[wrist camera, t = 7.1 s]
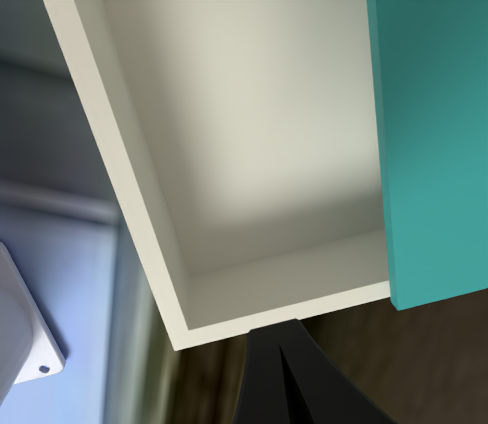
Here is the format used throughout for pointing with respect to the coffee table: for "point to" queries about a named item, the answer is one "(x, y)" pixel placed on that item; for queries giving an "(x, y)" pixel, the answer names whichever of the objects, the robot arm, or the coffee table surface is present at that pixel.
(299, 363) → the robot arm
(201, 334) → the mailer box
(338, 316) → the coffee table surface
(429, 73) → the lid
